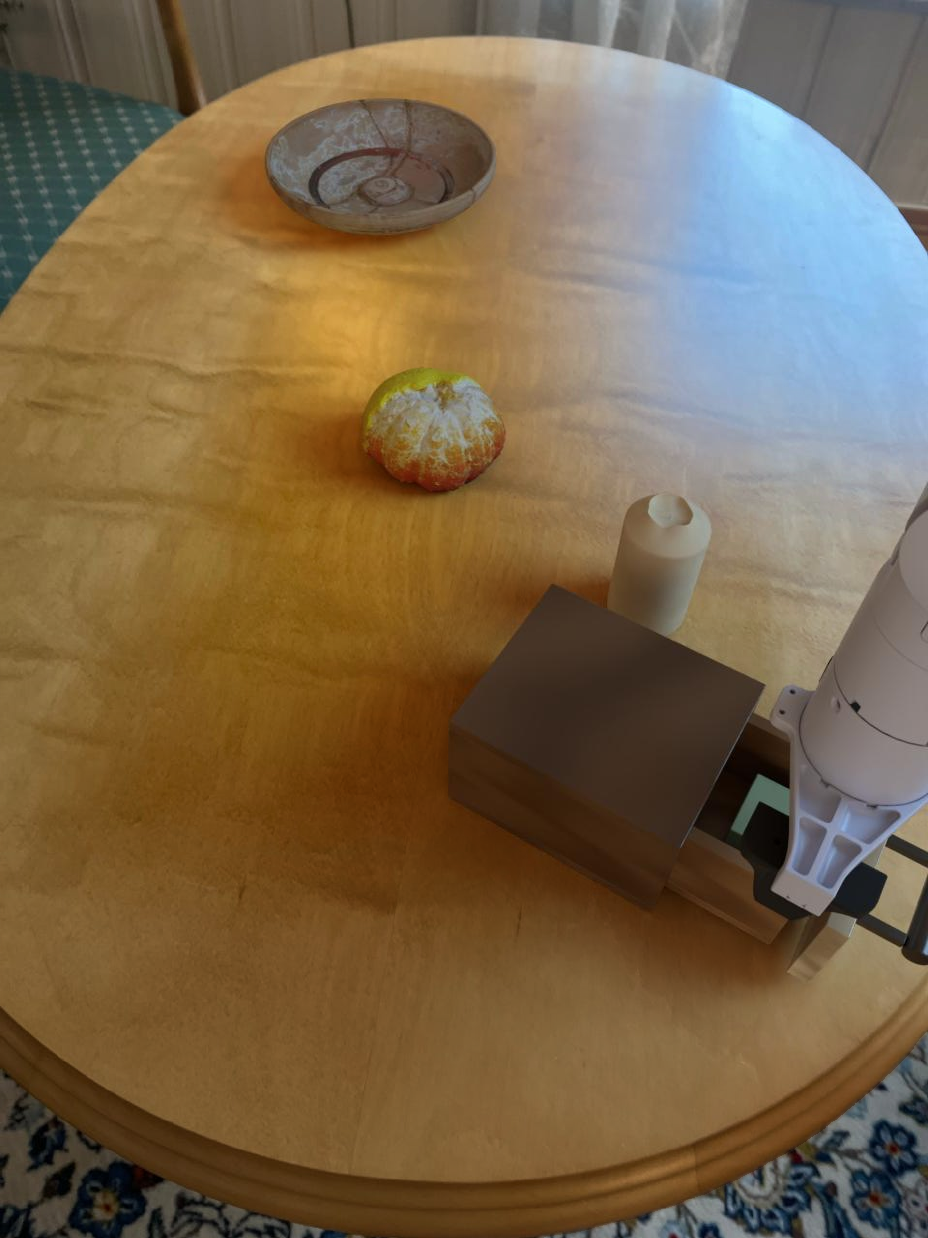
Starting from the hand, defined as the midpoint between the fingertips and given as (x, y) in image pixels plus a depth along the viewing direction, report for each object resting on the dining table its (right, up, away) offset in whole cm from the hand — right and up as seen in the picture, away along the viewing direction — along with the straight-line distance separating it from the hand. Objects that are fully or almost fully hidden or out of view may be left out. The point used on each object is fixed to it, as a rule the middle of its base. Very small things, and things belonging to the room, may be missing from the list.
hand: (805, 840), depth 47 cm
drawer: (+1, -3, +9) cm, 9 cm away
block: (0, -2, +8) cm, 8 cm away
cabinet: (-9, +1, +13) cm, 15 cm away
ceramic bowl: (-25, +55, +55) cm, 81 cm away
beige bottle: (-4, +11, +21) cm, 24 cm away
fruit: (-19, +24, +31) cm, 43 cm away
